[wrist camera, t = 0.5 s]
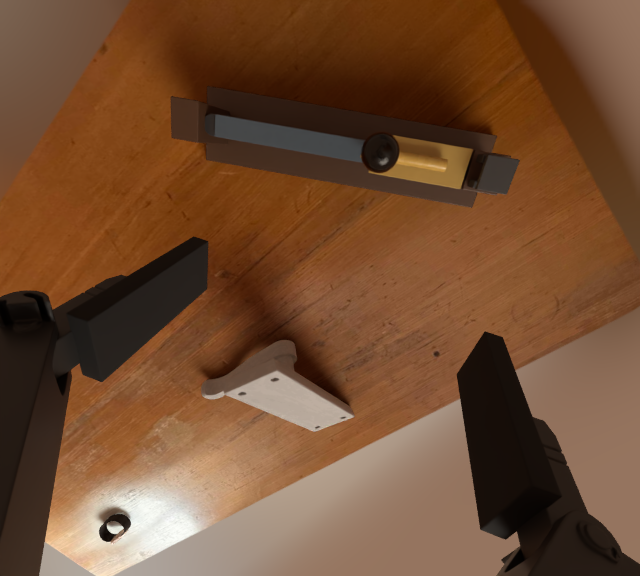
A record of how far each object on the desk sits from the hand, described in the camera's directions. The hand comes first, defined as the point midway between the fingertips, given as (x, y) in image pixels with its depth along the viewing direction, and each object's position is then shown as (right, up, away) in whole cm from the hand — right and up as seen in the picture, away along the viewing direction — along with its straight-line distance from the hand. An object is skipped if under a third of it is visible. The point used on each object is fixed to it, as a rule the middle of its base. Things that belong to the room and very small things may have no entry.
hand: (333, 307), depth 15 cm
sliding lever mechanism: (+2, +16, +19) cm, 25 cm away
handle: (-7, -13, +33) cm, 36 cm away
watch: (-42, -46, +51) cm, 80 cm away
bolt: (+6, +12, +12) cm, 18 cm away
